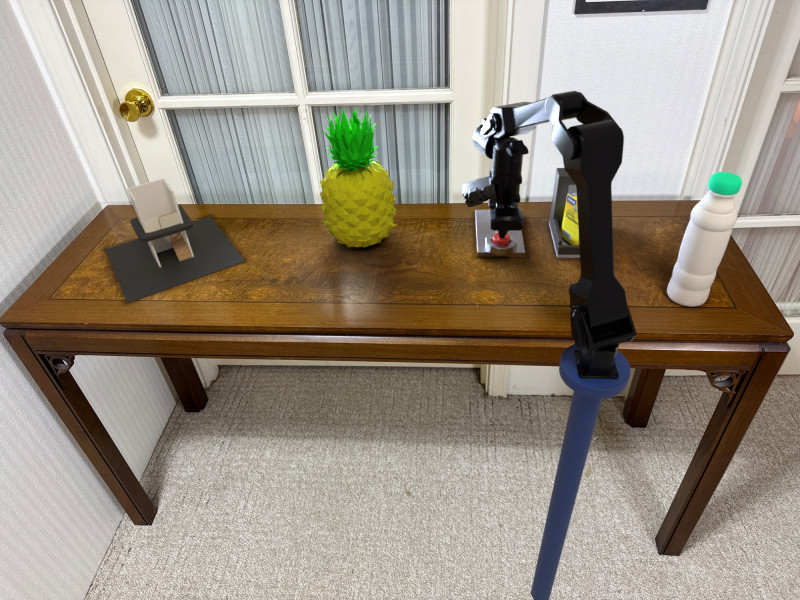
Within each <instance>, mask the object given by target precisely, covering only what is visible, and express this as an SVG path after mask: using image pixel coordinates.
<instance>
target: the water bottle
mask: <svg viewBox="0 0 800 600" xmlns="http://www.w3.org/2000/svg"><path fill="white" fill-rule="evenodd" d="M742 185H743V180H742V178H741V177H740V176H739V175H738V174H736V173H733V172H728V171H717V172H714V173H713V174H712V175H711V176H710V178H709V180H708V183H707V191H708V193H707V194H705V195H704V196H703V197H702V198H701V200H699V201H698V202H697V203H696V204H695V205H694V207H693V208H692V210H691V212H690V215H689V217H690V220H689V221H688V224H687V226H686V229H685V232H684V234H683V237H682V240H681V243H680V247H679V251H678V255H677V260H676V262H675V264H674V266H673V269H672V273H671V277H670V279H669V281H668V284H667V288H666V294H667V296H668V297H669V299H670V300H671V301H672V302H674V303H676V304H678V305H680V306H684V307H690V308H691V307H692V308H693V307H699V306H701V305H703V304H705V303H706V301H707V300H708V298H709V295H710V291H711V287H712V285H713V283H714V282H715V280H716V279H715V278H716V276H717V270H718V268H719V266H720V264H721V262H722V259H723V257H724V255H725V252H726V250H727V247H728V244H729V241H730V238H731V234H732V231H733V228H734V227H735V225H736V223H737V221H738V214H737V210H736V202H735V200H734V197H736V196H737V195H739V192H740V190H741V188H742Z"/></svg>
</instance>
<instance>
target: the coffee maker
mask: <svg viewBox="0 0 800 600" xmlns="http://www.w3.org/2000/svg"><path fill="white" fill-rule="evenodd" d="M575 192H577V189H576V184H575V183H574V182H573V180H572V179H571V178H570V176H569V175H568V173H567V172H566V171H565V169H564V167H556V168H555V176H554V184H553V189H552V198H551V205H550V212H549V218H548V219H549V221H548V226H549V230H550V234H551V238H552V242H553V247H554V251H555V256H556V258H557V259H580V247H579V245H568V244H567V243H566V242H564V241H563V240H562V237H561V229H562V223H563V217H564V211H565V205H566V198H567V194H571V193H575Z"/></svg>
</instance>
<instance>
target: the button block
mask: <svg viewBox="0 0 800 600" xmlns="http://www.w3.org/2000/svg"><path fill="white" fill-rule="evenodd" d="M489 210H490V209H475V212H474V216H475V217H474V218H475V236H476V237H475V238H476V257H477V258H525V257H526V249H525V244H524V238H523V232H522V230H521V231H508V233H507V234H508V235H509V236H510V244H508V245H504V246H499V245H496V244H494V243H493V235H494V234H496V233H498V231H494V230H492V229H491V227H490V214H489Z"/></svg>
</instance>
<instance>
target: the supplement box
mask: <svg viewBox="0 0 800 600" xmlns="http://www.w3.org/2000/svg"><path fill="white" fill-rule="evenodd" d="M561 237H562V240H563V241H564V242H566V243H567V244H568V245H579V228H578V209H577V192H575V193H571V194H567V198H566V205H565V211H564V217H563V223H562V229H561Z"/></svg>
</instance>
